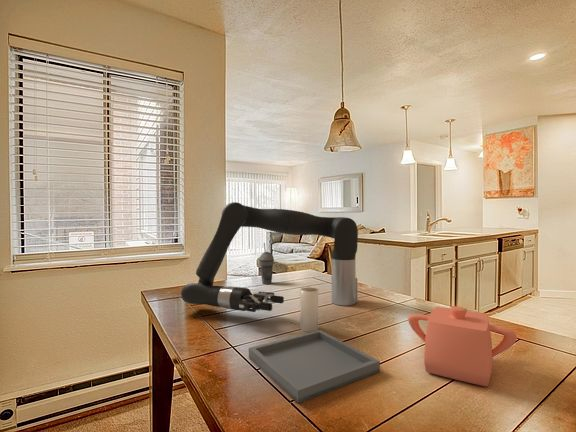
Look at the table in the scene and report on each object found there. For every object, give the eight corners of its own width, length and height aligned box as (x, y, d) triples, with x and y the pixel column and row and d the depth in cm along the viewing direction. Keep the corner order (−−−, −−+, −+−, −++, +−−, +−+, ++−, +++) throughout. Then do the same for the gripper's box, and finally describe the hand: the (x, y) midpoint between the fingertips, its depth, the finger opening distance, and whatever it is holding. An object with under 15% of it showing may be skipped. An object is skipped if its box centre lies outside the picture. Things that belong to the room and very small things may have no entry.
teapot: (519, 399, 62) (520, 327, 62) (401, 369, 74) (401, 308, 73) (512, 358, 79) (513, 301, 78) (417, 339, 90) (417, 290, 90)
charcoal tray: (320, 338, 91) (320, 329, 91) (379, 372, 72) (379, 361, 72) (248, 357, 79) (248, 347, 79) (297, 403, 61) (297, 390, 61)
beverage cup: (272, 285, 154) (271, 243, 154) (257, 284, 156) (257, 243, 155) (275, 282, 162) (275, 242, 161) (261, 281, 163) (261, 242, 163)
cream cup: (311, 324, 102) (311, 286, 102) (322, 329, 98) (321, 290, 98) (296, 327, 100) (296, 288, 99) (307, 333, 95) (307, 292, 95)
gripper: (222, 292, 103) (267, 297, 96) (245, 282, 116) (286, 286, 109) (222, 315, 103) (267, 322, 96) (245, 303, 116) (286, 308, 109)
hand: (277, 303), depth 103 cm, fingers open, 8 cm apart
